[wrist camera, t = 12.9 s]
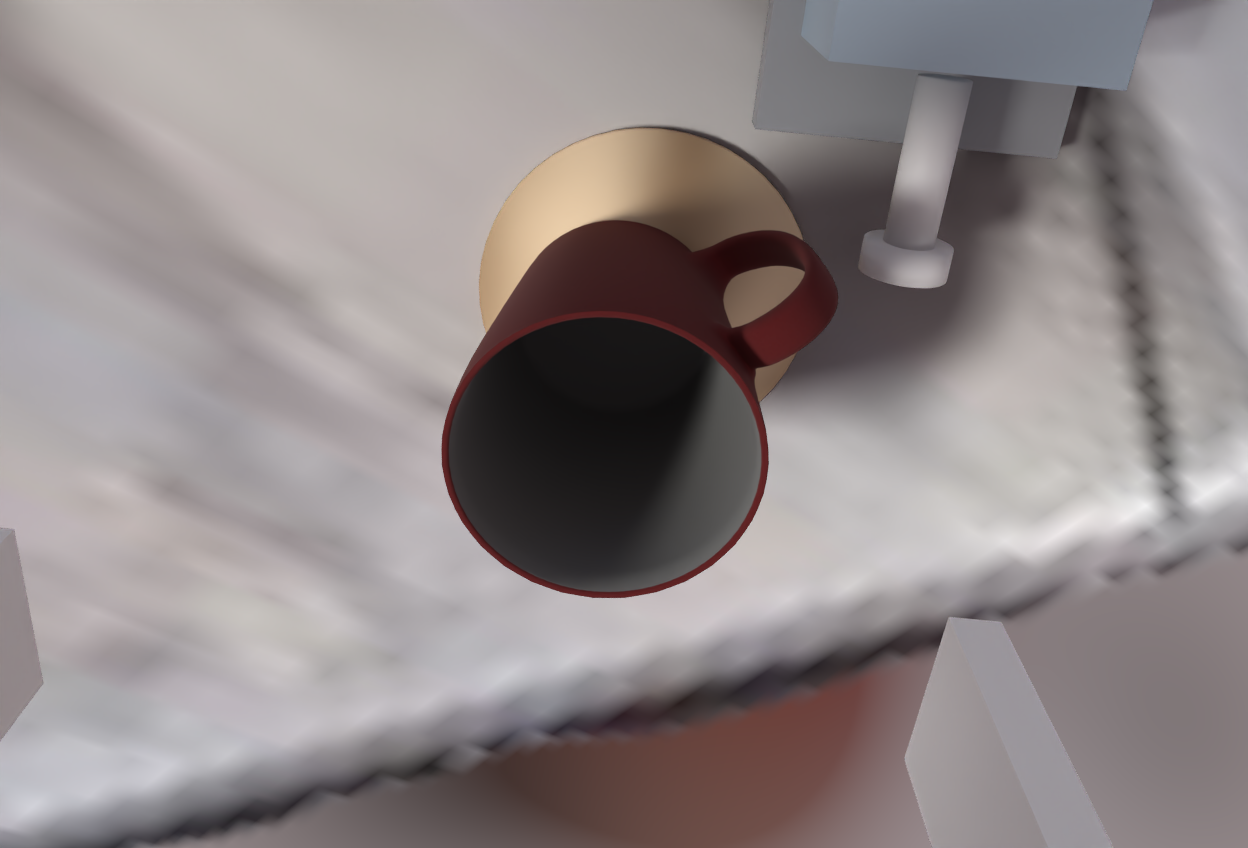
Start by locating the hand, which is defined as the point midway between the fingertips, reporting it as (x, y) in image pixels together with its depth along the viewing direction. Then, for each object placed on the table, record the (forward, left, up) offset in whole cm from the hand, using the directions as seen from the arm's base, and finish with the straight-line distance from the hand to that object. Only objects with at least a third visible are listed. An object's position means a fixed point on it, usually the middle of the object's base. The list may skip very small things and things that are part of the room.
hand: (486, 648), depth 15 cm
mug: (+3, -3, -24) cm, 24 cm away
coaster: (+2, -3, -24) cm, 24 cm away
